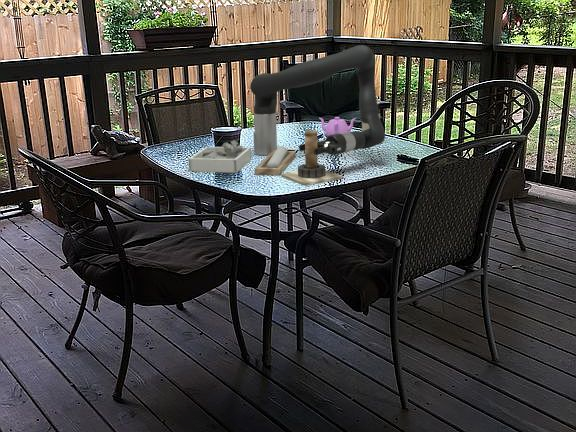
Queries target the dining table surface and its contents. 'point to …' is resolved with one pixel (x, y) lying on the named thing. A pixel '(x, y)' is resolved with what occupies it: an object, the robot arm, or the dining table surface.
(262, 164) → the tube rest
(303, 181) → the collar board
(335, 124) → the teapot
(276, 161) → the tube
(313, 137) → the dowel
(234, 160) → the coral tray
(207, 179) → the dining table surface
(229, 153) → the coral
